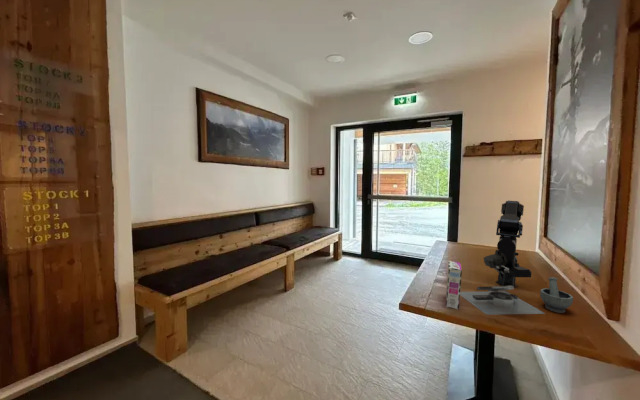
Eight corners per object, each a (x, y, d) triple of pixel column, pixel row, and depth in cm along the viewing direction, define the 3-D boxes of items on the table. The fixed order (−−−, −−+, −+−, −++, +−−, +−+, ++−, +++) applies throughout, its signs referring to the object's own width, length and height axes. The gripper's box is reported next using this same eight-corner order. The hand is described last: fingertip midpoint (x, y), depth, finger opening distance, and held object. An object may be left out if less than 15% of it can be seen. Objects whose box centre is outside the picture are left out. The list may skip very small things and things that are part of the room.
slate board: (506, 292, 122) (506, 291, 122) (545, 314, 103) (545, 313, 103) (456, 292, 121) (456, 291, 121) (486, 315, 101) (486, 314, 101)
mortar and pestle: (575, 318, 100) (578, 287, 99) (544, 312, 104) (546, 283, 103) (563, 305, 110) (566, 277, 109) (535, 300, 114) (537, 273, 113)
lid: (503, 291, 115) (502, 286, 116) (519, 287, 107) (517, 282, 108) (472, 291, 114) (471, 287, 115) (485, 287, 106) (484, 283, 107)
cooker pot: (506, 297, 116) (506, 290, 116) (523, 307, 107) (524, 300, 107) (466, 297, 115) (467, 290, 115) (480, 308, 106) (481, 300, 106)
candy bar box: (459, 310, 104) (462, 270, 103) (445, 307, 107) (448, 268, 105) (458, 299, 115) (460, 262, 113) (445, 296, 117) (447, 260, 115)
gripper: (473, 243, 116) (471, 278, 118) (505, 255, 98) (502, 296, 99) (497, 243, 117) (495, 277, 118) (534, 255, 98) (530, 296, 100)
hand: (504, 286), depth 109 cm, fingers closed
